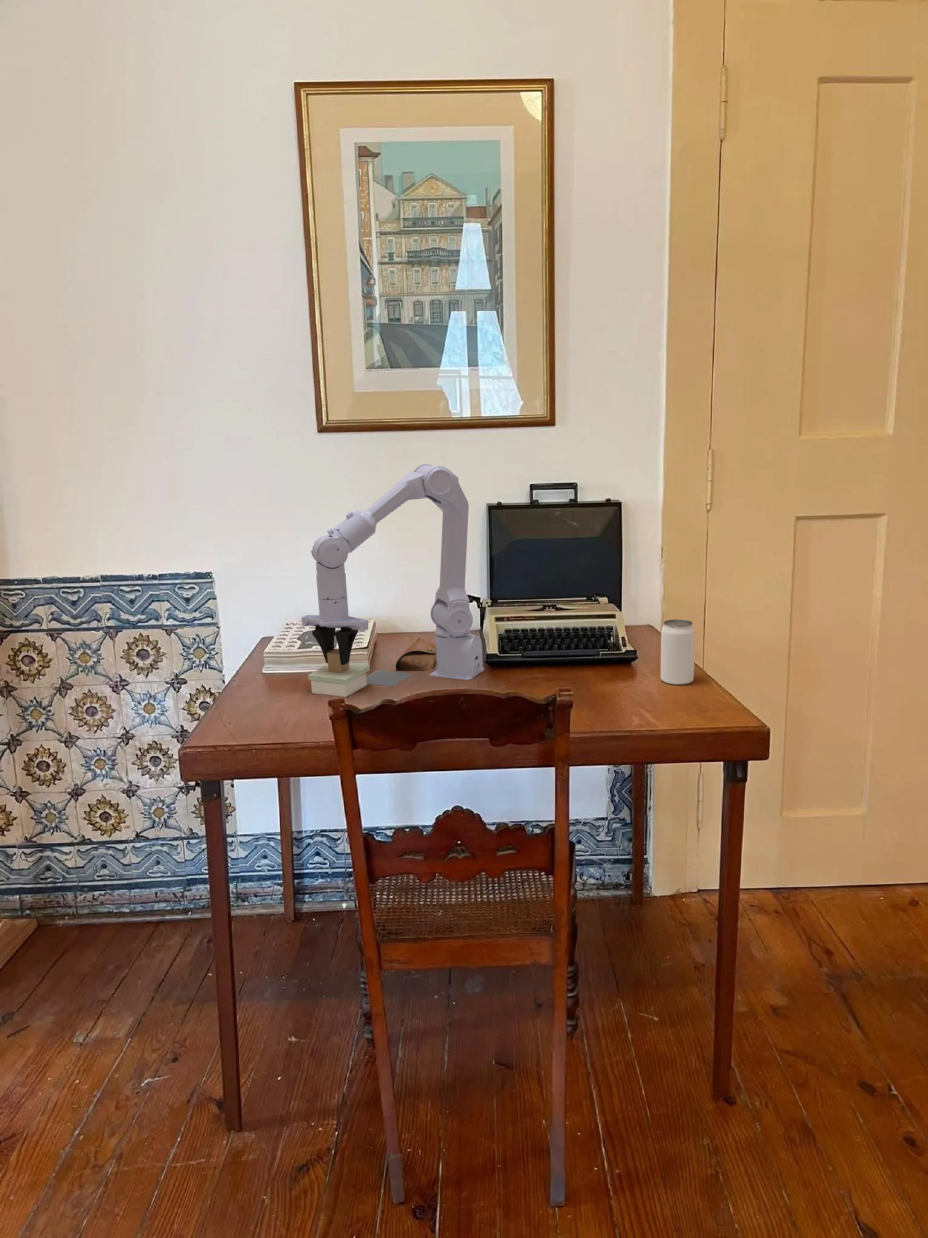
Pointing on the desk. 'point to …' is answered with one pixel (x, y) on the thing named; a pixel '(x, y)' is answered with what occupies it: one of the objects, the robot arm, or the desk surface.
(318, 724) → the desk surface
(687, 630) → the can
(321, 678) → the lid
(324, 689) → the dish
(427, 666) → the sunglasses case
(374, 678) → the mat
